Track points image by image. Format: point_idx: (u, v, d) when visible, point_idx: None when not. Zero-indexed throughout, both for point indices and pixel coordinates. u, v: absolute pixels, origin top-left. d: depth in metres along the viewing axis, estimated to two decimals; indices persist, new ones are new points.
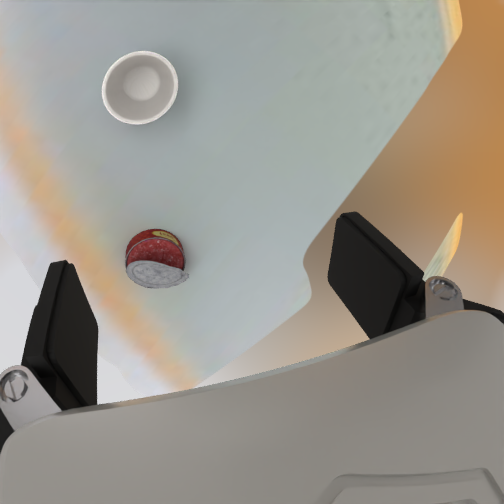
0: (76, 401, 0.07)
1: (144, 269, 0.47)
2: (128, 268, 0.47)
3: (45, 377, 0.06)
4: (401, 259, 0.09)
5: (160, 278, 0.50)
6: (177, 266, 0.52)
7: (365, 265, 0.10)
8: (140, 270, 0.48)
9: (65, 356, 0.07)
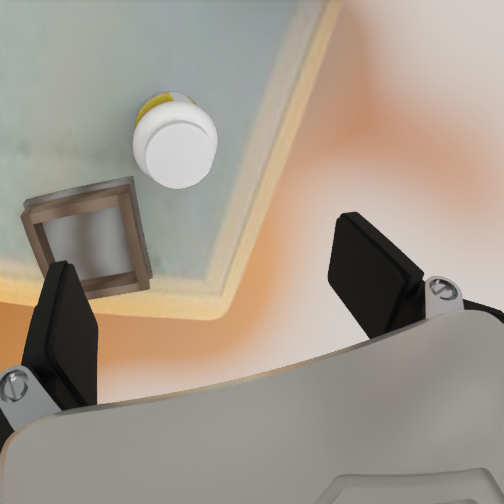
0: (76, 401, 0.07)
1: None
2: None
3: (45, 377, 0.06)
4: (401, 259, 0.09)
5: None
6: None
7: (365, 265, 0.10)
8: None
9: (65, 356, 0.07)
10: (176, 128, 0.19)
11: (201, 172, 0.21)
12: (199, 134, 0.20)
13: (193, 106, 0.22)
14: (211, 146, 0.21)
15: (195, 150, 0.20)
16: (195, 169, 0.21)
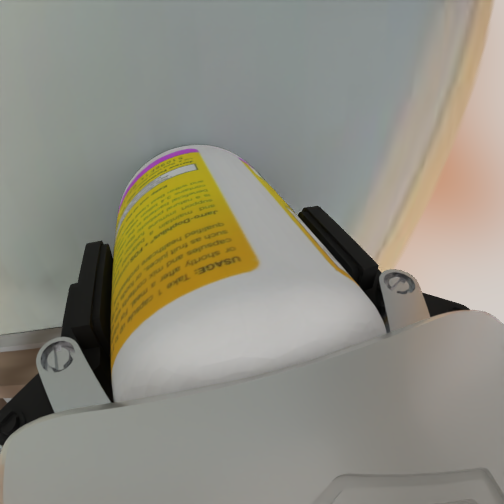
0: None
1: None
2: None
3: (88, 348, 0.07)
4: (355, 252, 0.09)
5: None
6: None
7: None
8: None
9: (107, 328, 0.08)
10: None
11: None
12: None
13: (348, 301, 0.06)
14: None
15: None
16: None
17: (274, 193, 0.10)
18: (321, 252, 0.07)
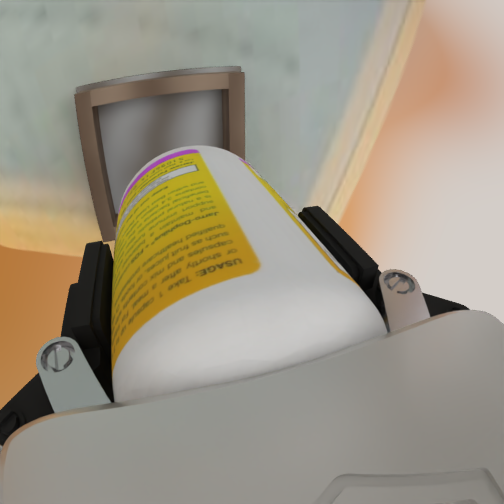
0: None
1: None
2: None
3: (88, 348, 0.07)
4: (355, 252, 0.09)
5: None
6: None
7: None
8: None
9: (107, 328, 0.08)
10: None
11: None
12: None
13: (349, 303, 0.06)
14: None
15: None
16: None
17: (275, 194, 0.10)
18: (322, 254, 0.07)
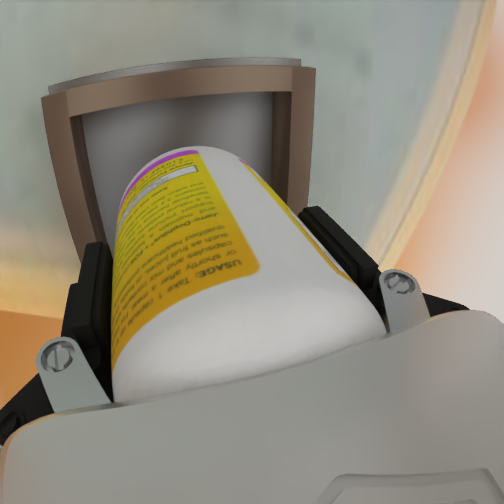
0: None
1: None
2: None
3: (88, 348, 0.07)
4: (355, 252, 0.09)
5: None
6: None
7: None
8: None
9: (107, 328, 0.08)
10: None
11: None
12: None
13: (349, 304, 0.06)
14: None
15: None
16: None
17: (275, 195, 0.10)
18: (322, 255, 0.07)
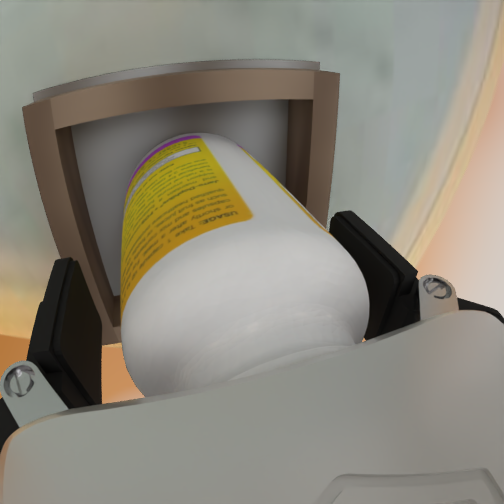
0: (81, 397, 0.07)
1: None
2: None
3: (51, 372, 0.06)
4: (395, 257, 0.09)
5: None
6: None
7: (359, 264, 0.10)
8: None
9: (71, 351, 0.07)
10: None
11: None
12: None
13: (328, 248, 0.07)
14: None
15: None
16: None
17: (268, 172, 0.11)
18: (307, 214, 0.08)
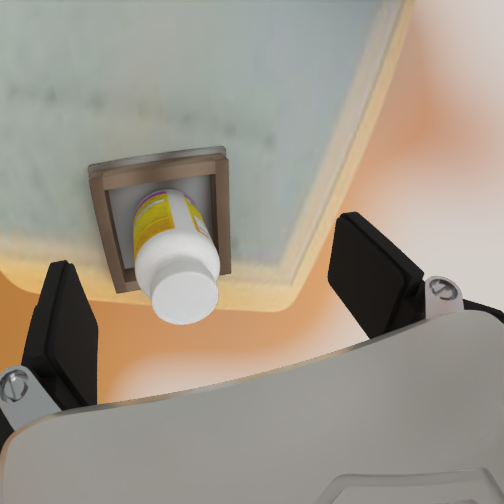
0: (76, 401, 0.07)
1: None
2: None
3: (45, 377, 0.06)
4: (401, 259, 0.09)
5: None
6: None
7: (365, 265, 0.10)
8: None
9: (65, 356, 0.07)
10: (180, 276, 0.20)
11: (206, 310, 0.22)
12: (204, 280, 0.21)
13: (195, 236, 0.23)
14: (216, 289, 0.22)
15: (200, 293, 0.21)
16: (200, 308, 0.22)
17: (191, 209, 0.27)
18: (195, 227, 0.24)
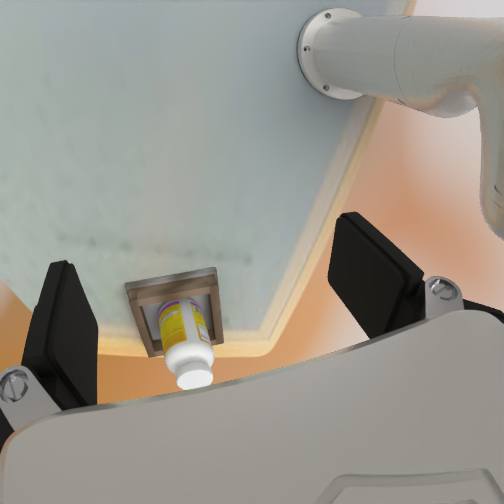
0: (76, 401, 0.07)
1: None
2: None
3: (45, 377, 0.06)
4: (401, 259, 0.09)
5: None
6: None
7: (365, 265, 0.10)
8: None
9: (65, 356, 0.07)
10: (192, 372, 0.36)
11: (206, 384, 0.39)
12: (205, 372, 0.37)
13: (199, 345, 0.39)
14: (211, 375, 0.38)
15: (203, 377, 0.38)
16: (203, 383, 0.38)
17: (196, 318, 0.43)
18: (199, 336, 0.40)
